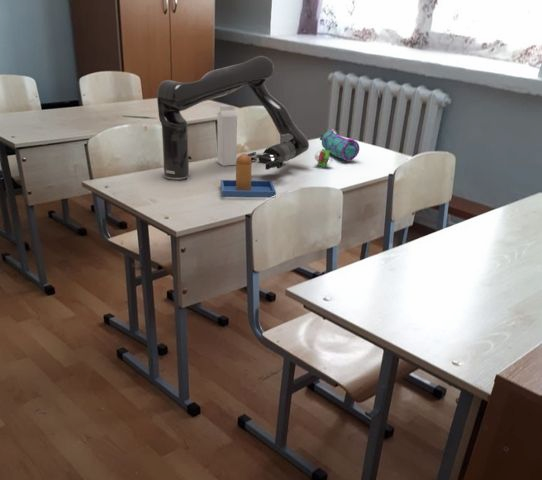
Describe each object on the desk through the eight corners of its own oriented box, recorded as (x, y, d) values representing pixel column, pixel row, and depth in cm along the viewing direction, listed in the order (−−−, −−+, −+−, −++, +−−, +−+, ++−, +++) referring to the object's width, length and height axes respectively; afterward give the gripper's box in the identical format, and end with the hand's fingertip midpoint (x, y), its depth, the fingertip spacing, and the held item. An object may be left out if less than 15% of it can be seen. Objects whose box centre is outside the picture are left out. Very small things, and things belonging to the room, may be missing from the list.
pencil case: (318, 150, 268) (320, 128, 263) (335, 149, 271) (337, 127, 266) (341, 163, 252) (344, 139, 247) (359, 161, 255) (362, 138, 250)
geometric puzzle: (325, 156, 251) (319, 142, 245) (337, 160, 247) (332, 146, 241) (315, 169, 250) (309, 155, 243) (328, 173, 246) (322, 159, 240)
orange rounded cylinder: (235, 188, 214) (235, 152, 207) (250, 188, 215) (251, 152, 208) (236, 192, 210) (236, 156, 203) (251, 193, 210) (252, 156, 204)
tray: (220, 187, 217) (220, 179, 215) (271, 188, 219) (271, 180, 217) (222, 198, 206) (222, 190, 205) (275, 199, 208) (275, 191, 207)
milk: (217, 162, 244) (216, 105, 232) (230, 160, 246) (231, 104, 235) (223, 166, 240) (222, 108, 228) (236, 164, 242) (237, 107, 230)
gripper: (292, 168, 226) (272, 178, 214) (260, 161, 232) (238, 171, 220) (294, 148, 222) (273, 157, 210) (261, 142, 228) (239, 150, 215)
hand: (255, 164), depth 215 cm, fingers open, 8 cm apart
